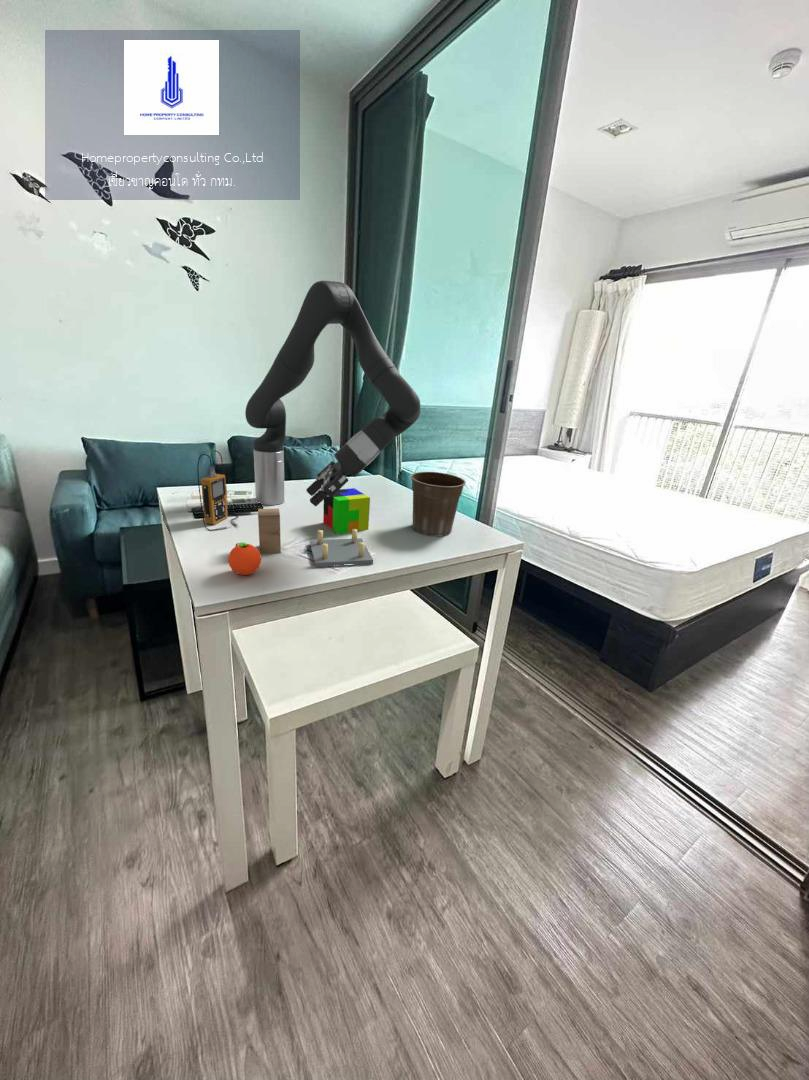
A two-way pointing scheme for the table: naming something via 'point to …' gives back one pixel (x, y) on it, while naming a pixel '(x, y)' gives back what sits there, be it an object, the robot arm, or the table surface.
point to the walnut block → (269, 530)
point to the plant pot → (435, 501)
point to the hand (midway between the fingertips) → (310, 498)
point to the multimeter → (214, 497)
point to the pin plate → (339, 551)
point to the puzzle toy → (347, 511)
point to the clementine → (244, 559)
